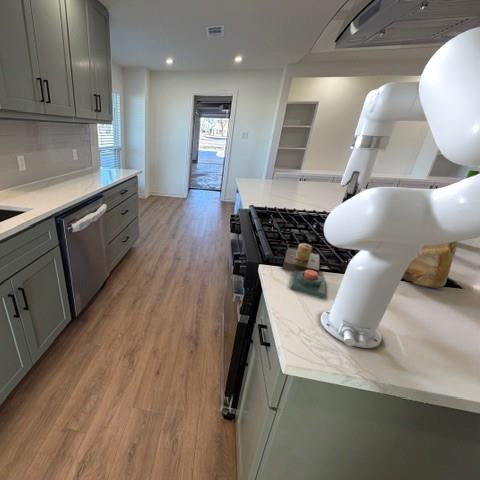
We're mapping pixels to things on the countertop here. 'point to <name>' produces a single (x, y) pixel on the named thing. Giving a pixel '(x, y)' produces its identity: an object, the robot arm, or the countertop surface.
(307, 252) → the dial
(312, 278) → the button
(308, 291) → the button box
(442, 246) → the rough brown rock
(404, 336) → the countertop surface
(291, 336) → the countertop surface
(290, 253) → the dial panel
